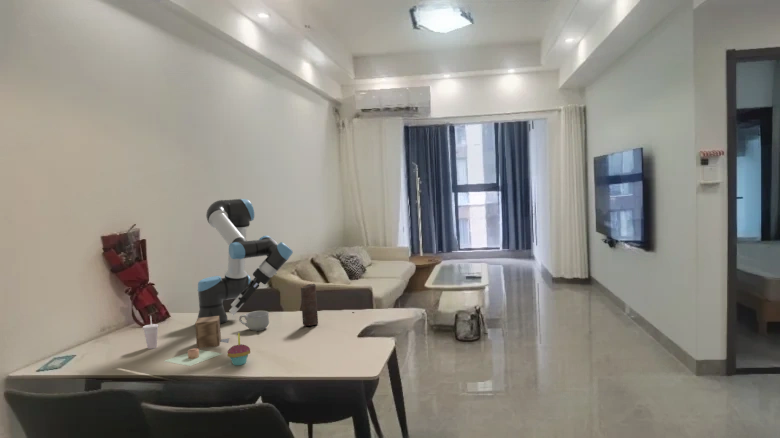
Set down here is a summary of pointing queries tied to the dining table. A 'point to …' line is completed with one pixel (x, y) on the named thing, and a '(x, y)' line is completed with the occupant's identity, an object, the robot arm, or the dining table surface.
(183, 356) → the green board
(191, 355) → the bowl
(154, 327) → the smoothie
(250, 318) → the teacup
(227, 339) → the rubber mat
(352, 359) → the dining table surface
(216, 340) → the walnut cover
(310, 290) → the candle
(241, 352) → the cupcake
